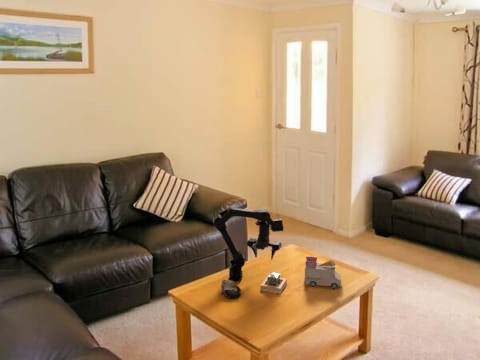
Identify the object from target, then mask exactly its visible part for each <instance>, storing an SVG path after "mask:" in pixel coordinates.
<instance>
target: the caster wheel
mask: <svg viewBox="0 0 480 360" xmlns="http://www.w3.org/2000/svg"><path fill="white" fill-rule="evenodd" d="M220 287H221V288H220V289H221V290H220V291H221V294H224V295H225V297H227V298H229V299H238V298H239V297H241V292H242V290H241V288H240V286H238V285H237V284H236V281H232V280H228V279H222V280H221V286H220Z"/></svg>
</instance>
